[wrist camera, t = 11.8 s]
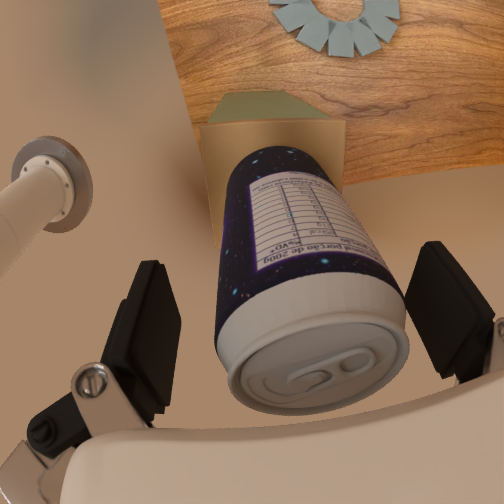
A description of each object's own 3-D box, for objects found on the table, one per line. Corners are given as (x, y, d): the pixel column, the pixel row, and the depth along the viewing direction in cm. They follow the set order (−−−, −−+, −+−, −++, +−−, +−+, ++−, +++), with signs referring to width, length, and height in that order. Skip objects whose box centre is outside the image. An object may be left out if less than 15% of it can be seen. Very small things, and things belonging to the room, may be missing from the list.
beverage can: (207, 173, 16) (163, 364, 6) (297, 123, 14) (410, 260, 5) (258, 244, 19) (274, 431, 9) (338, 204, 17) (427, 376, 8)
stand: (228, 148, 39) (215, 249, 19) (223, 92, 34) (199, 126, 14) (286, 145, 39) (336, 241, 19) (285, 89, 34) (346, 121, 14)
